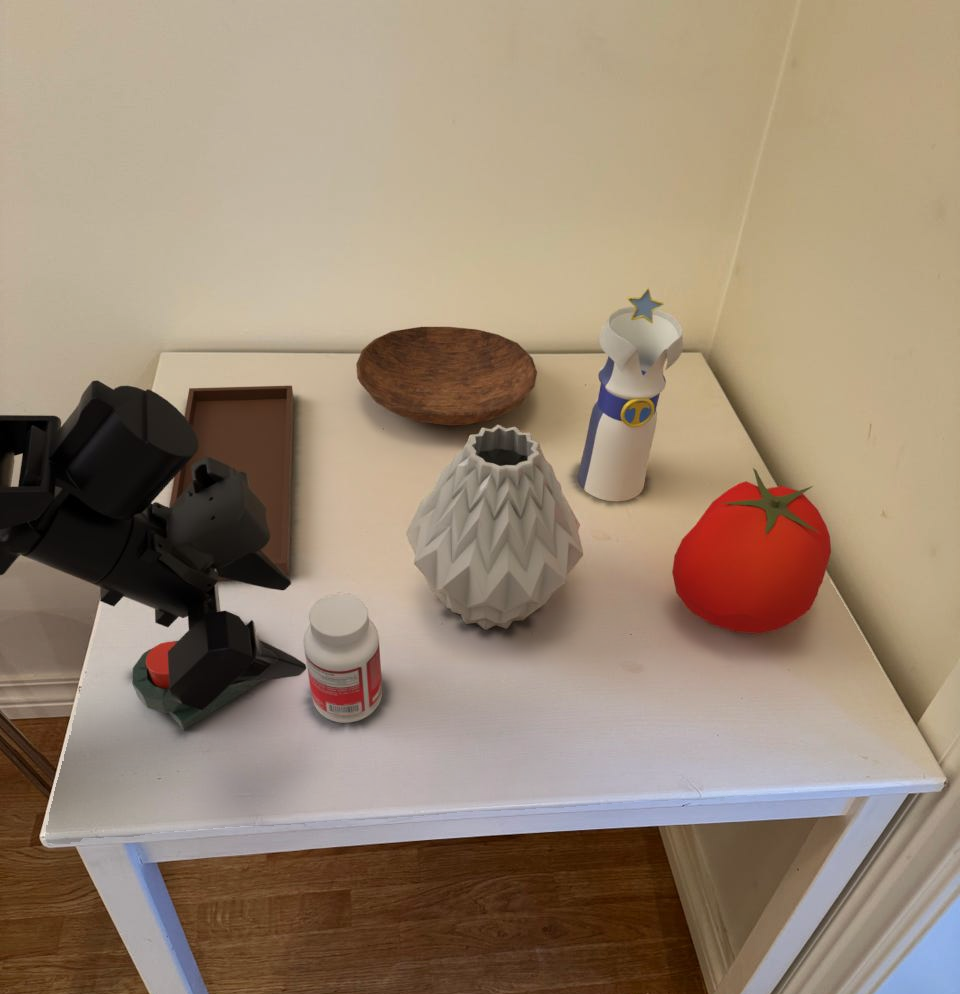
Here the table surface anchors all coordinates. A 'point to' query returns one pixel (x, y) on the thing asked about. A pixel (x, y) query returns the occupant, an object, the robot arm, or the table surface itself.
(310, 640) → the pill bottle
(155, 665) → the button
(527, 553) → the vase
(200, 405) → the brown rectangular tray
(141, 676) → the block
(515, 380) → the bowl
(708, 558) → the tomato
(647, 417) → the white toy figure
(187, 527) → the robot arm
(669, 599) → the table surface
